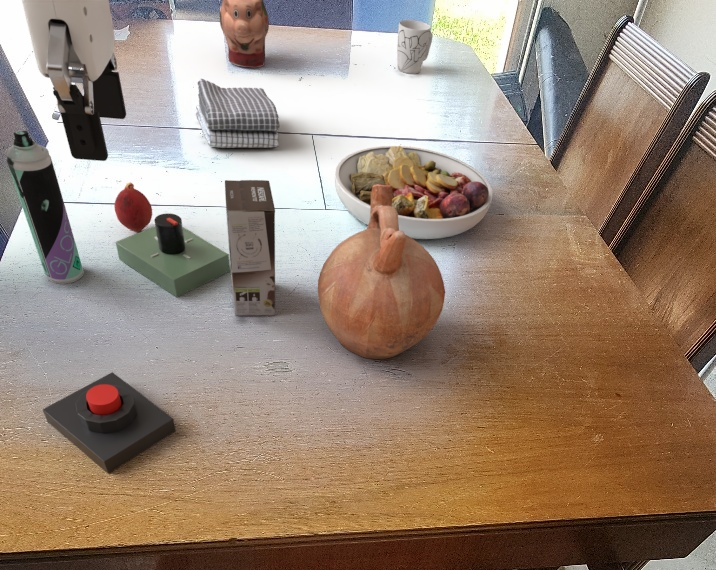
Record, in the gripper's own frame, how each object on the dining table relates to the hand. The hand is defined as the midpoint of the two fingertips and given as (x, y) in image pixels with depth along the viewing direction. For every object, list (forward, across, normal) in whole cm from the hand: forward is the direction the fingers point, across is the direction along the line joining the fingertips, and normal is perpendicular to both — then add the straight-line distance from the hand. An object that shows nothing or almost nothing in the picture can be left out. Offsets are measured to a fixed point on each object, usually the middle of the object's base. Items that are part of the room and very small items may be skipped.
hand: (101, 136), depth 60 cm
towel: (+29, -78, +7) cm, 84 cm away
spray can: (+29, -22, -16) cm, 40 cm away
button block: (+29, +11, -3) cm, 31 cm away
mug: (+29, -130, +51) cm, 142 cm away
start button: (+25, +11, -3) cm, 28 cm away
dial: (+26, -25, 0) cm, 36 cm away
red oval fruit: (+29, -35, -8) cm, 46 cm away
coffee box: (+29, -17, +13) cm, 36 cm away
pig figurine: (+29, -124, +6) cm, 127 cm away
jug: (+29, -10, +32) cm, 44 cm away
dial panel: (+29, -26, 0) cm, 39 cm away
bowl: (+29, -51, +42) cm, 72 cm away
